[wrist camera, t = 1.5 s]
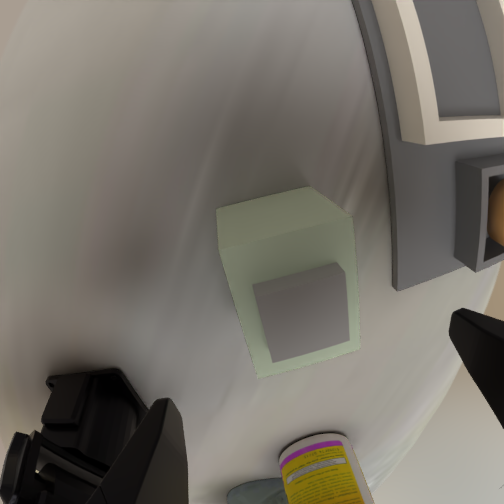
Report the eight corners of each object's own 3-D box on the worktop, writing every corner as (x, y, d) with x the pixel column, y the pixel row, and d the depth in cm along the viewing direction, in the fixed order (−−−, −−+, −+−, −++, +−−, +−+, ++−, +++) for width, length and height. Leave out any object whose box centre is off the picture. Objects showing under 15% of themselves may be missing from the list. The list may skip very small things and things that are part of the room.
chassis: (509, 241, 18) (534, 256, 15) (392, 286, 17) (416, 311, 15) (478, -25, 9) (504, -33, 7) (330, -58, 9) (350, -82, 7)
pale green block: (324, 291, 17) (367, 360, 12) (245, 313, 17) (260, 392, 12) (309, 185, 15) (362, 224, 9) (215, 208, 14) (218, 260, 9)
